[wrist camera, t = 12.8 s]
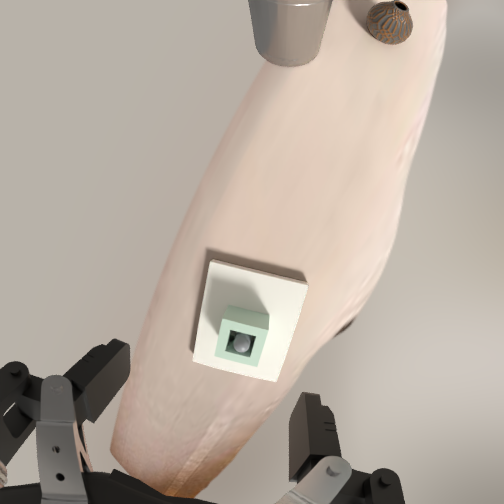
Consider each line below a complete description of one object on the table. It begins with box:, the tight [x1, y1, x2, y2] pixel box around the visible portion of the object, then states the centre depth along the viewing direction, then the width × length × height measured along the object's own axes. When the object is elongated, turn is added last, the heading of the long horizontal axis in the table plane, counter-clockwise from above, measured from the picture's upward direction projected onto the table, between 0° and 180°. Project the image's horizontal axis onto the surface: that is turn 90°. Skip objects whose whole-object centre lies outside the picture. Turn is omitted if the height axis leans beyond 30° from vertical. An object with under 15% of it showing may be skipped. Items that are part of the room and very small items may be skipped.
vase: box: [367, 0, 413, 45], centre depth 23 cm, size 7×7×9 cm
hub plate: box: [193, 259, 309, 382], centre depth 34 cm, size 16×13×7 cm
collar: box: [214, 305, 270, 367], centre depth 34 cm, size 6×6×4 cm
